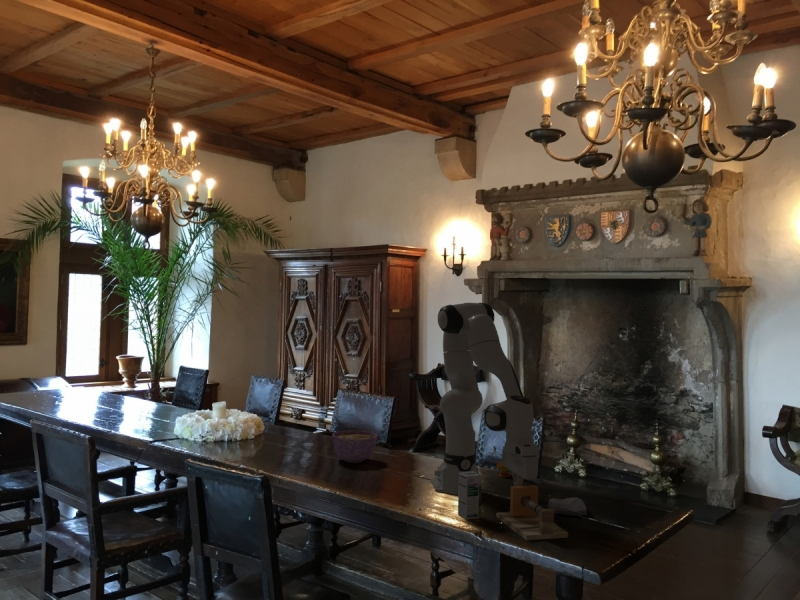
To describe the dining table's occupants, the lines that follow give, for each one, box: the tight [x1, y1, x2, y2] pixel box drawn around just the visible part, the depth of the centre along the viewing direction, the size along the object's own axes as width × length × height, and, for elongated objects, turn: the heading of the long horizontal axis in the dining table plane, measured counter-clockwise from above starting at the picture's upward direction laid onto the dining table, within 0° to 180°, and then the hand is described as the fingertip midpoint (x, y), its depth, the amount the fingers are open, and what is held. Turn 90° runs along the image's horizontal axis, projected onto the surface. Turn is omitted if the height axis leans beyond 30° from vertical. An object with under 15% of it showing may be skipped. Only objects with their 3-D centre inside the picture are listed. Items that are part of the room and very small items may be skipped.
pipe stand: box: [496, 496, 569, 541], centre depth 210 cm, size 22×14×8 cm, turn 16°
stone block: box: [548, 497, 588, 517], centre depth 228 cm, size 12×5×10 cm
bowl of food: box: [331, 430, 378, 464], centre depth 290 cm, size 20×20×12 cm
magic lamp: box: [491, 446, 512, 478], centre depth 273 cm, size 7×18×11 cm, turn 41°
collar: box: [509, 484, 539, 516], centre depth 215 cm, size 2×9×9 cm, turn 106°
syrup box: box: [457, 471, 483, 521], centre depth 219 cm, size 6×6×14 cm
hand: (517, 486), depth 220 cm, fingers closed
